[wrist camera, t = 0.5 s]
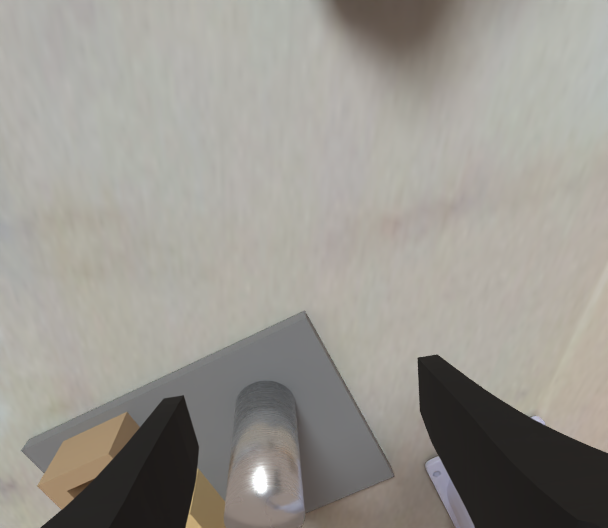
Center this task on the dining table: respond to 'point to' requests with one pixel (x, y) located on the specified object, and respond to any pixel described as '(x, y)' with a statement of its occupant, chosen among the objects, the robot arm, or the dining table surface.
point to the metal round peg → (264, 460)
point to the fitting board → (228, 423)
